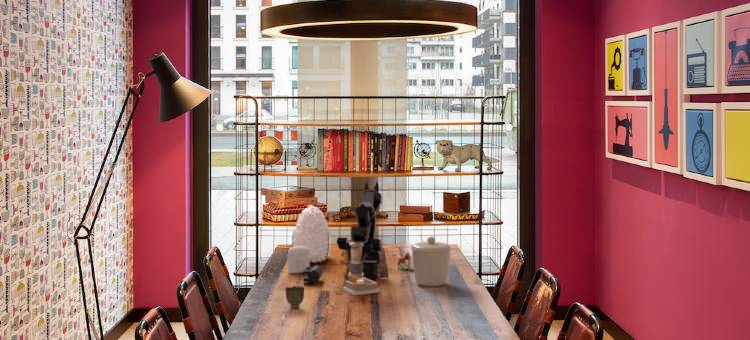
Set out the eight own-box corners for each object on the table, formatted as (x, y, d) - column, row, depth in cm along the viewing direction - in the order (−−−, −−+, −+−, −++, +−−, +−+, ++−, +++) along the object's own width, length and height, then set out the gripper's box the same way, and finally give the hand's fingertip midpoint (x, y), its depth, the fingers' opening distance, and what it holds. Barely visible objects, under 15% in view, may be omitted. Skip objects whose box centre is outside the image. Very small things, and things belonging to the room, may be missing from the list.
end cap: (319, 285, 377) (319, 270, 376) (302, 284, 377) (302, 269, 377) (323, 280, 387) (323, 265, 386) (307, 280, 387) (307, 265, 387)
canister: (424, 278, 391) (424, 232, 390) (459, 283, 381) (459, 236, 379) (401, 285, 377) (402, 237, 375) (437, 291, 366) (438, 241, 365)
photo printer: (307, 270, 408) (307, 244, 407) (310, 272, 404) (310, 246, 403) (286, 272, 403) (286, 246, 402) (290, 274, 399) (289, 247, 398)
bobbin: (357, 272, 369) (357, 241, 367) (366, 275, 364) (367, 243, 362) (345, 275, 365) (345, 242, 363) (354, 278, 360) (355, 245, 358)
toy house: (412, 270, 411) (412, 253, 410) (398, 271, 410) (398, 254, 410) (411, 268, 416) (411, 251, 416) (397, 268, 416) (397, 251, 415)
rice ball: (295, 255, 447) (295, 201, 445) (332, 255, 447) (332, 201, 445) (289, 265, 419) (289, 208, 417) (328, 266, 419) (328, 208, 417)
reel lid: (358, 282, 384) (358, 276, 384) (371, 282, 383) (371, 277, 383) (356, 284, 378) (356, 278, 378) (369, 284, 377) (369, 278, 377)
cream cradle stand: (368, 287, 372) (368, 278, 372) (379, 292, 363) (379, 282, 363) (343, 290, 367) (343, 281, 366) (354, 295, 358) (354, 285, 357)
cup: (285, 305, 339) (285, 285, 339) (304, 305, 340) (304, 285, 339) (285, 310, 332) (285, 289, 331) (304, 310, 333) (304, 289, 332)
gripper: (337, 218, 368) (330, 248, 359) (380, 220, 364) (373, 251, 354) (343, 233, 377) (335, 263, 367) (385, 235, 372) (378, 266, 362)
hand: (355, 260), depth 363 cm, fingers closed on bobbin, 5 cm apart
